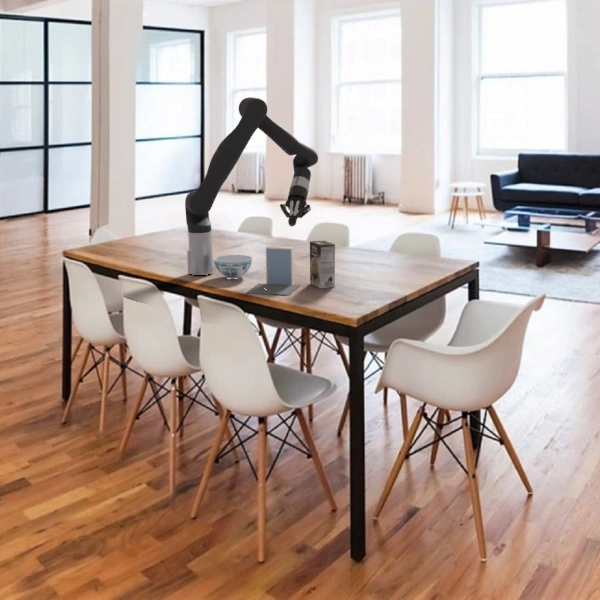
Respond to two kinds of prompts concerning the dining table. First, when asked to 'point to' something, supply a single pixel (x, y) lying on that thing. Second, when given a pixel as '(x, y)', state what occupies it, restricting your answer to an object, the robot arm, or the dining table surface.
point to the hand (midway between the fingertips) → (291, 225)
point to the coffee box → (322, 264)
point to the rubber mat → (273, 289)
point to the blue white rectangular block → (280, 265)
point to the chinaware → (233, 265)
